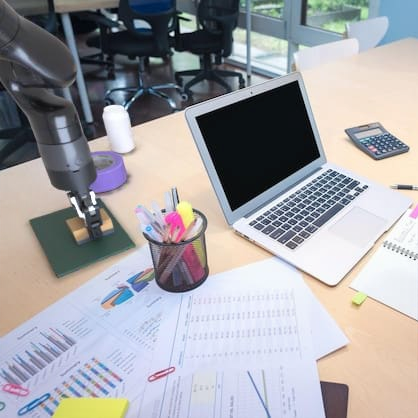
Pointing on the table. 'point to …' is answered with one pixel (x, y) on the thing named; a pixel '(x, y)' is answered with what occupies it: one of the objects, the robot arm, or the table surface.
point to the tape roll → (108, 171)
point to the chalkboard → (67, 247)
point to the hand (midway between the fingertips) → (92, 231)
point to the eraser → (80, 229)
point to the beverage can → (118, 129)
